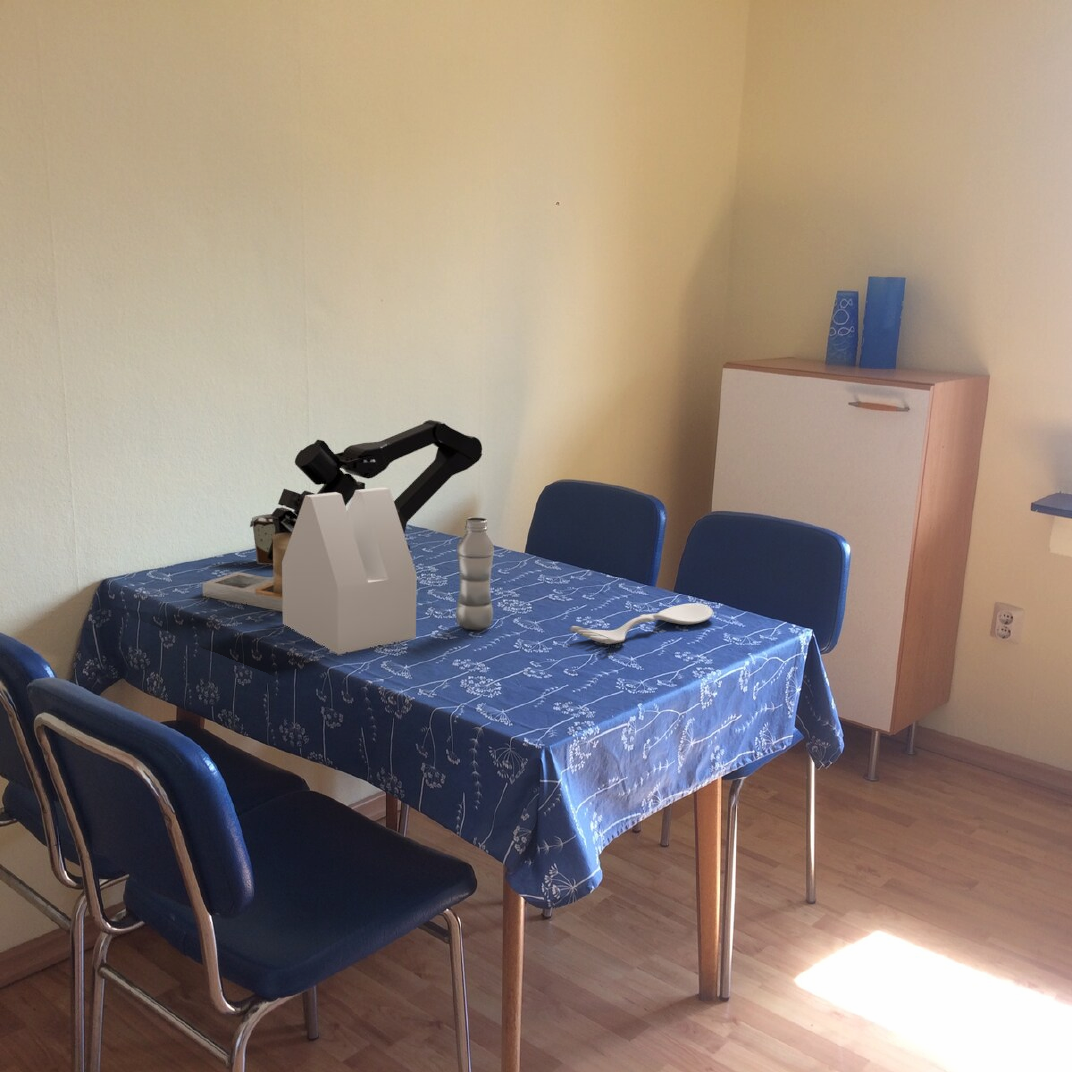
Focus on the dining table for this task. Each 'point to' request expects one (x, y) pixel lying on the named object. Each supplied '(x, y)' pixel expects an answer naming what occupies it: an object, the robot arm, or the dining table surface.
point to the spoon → (674, 614)
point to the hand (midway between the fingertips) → (280, 564)
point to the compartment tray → (245, 590)
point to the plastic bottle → (475, 576)
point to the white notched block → (349, 573)
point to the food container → (263, 537)
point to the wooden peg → (279, 558)
